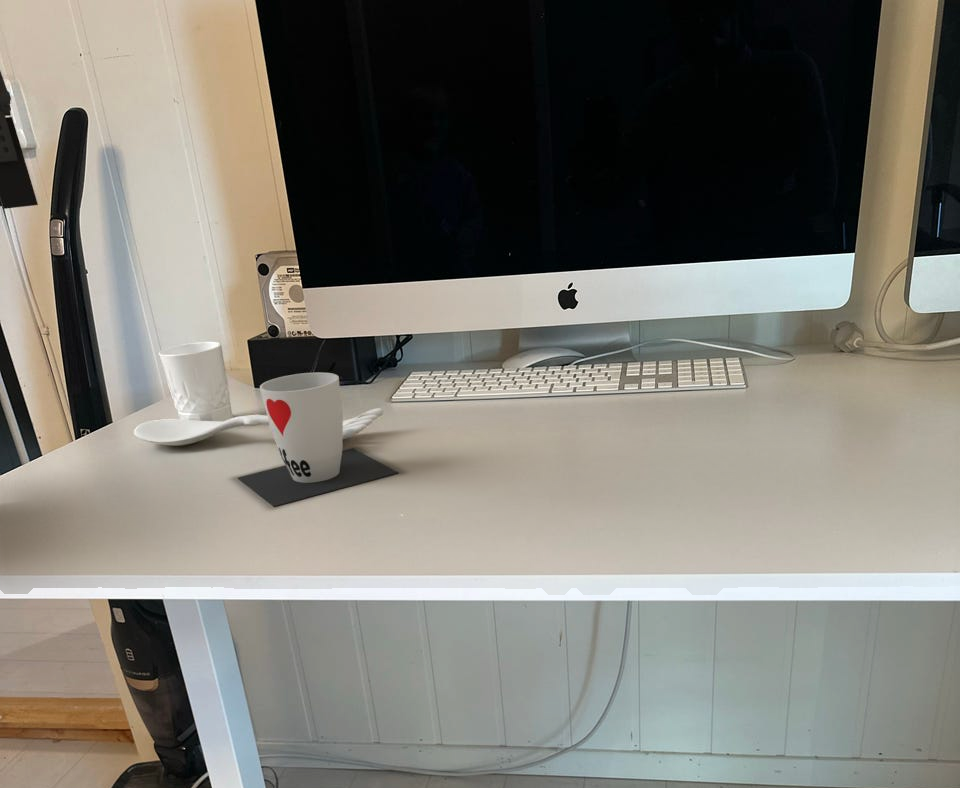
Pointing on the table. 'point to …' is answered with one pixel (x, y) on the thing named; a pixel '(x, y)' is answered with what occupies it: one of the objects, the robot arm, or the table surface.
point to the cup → (306, 423)
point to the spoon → (196, 430)
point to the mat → (284, 489)
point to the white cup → (197, 381)
